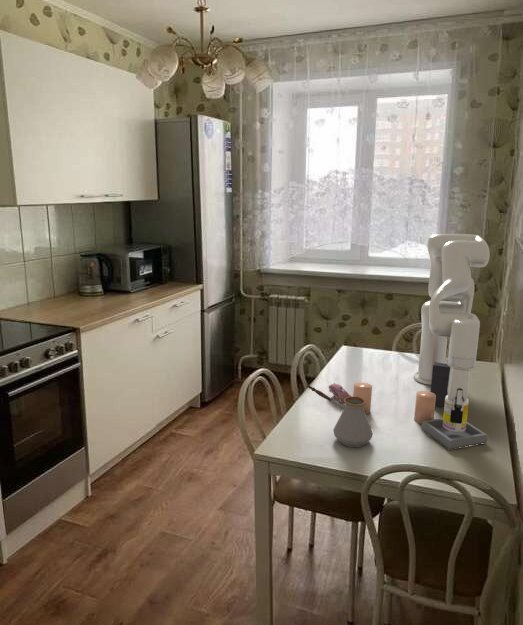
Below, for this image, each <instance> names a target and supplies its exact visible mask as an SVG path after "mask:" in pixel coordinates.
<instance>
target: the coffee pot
mask: <svg viewBox="0 0 523 625" xmlns="http://www.w3.org/2000/svg"><path fill="white" fill-rule="evenodd" d="M307 389H309V390H311V391H312V392H315V393H316V394H317V395H318V396H319V397H321V398H323V399H325V400H326V401H329V402H331V403H333V404H334V405H336V407H338V408H340V409H341V410H342V412H341V414H340V416H339V418H338V420H337V422H336V423H335V425H334V427H333V429H332V430H333V434H334V437H335V438H336V440H337V441H338V442H340V443H341V444H342V445H344V446H347V447H348V448H349V447H350V448H359V447H363V446H365V445H366V444H367V443H369V442H370V441H371V440H372V438H373V434H374V433H373V429H372V427H371V424H370V422H369V419H368V417H367V414H365V411H364V409H363V407H364V405H365V404H366V401H365V400H364V399H363V398H361V397H358V396H353V395H350V397H346V398H344V401H343V402H344V404H345V406H344V405H342V404H341V403H340V402H337V401H335V400H334V399H332V398H331V397H329V396H328V395H327V394H325V393H324V392H322V391H320V390H318V389H317V388H315V387H314V386H313V387H312V386H311V385H309V384H306V386H305V388H304V391H306V390H307Z"/></svg>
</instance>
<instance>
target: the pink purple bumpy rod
mask: <svg viewBox="0 0 523 625" xmlns="http://www.w3.org/2000/svg"><path fill="white" fill-rule="evenodd" d="M327 388H328V392H329V393H332V395H333V396H334V398H336V399H337V400H338V401H340V402H341V403H343V402H344V398H346V397H350V396H351V394H350V393H348V391H347V390H346V389H344V387H343V386H342V385H340V384H337V383H335V382H333V383H330V385H328V387H327Z"/></svg>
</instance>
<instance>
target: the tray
mask: <svg viewBox="0 0 523 625" xmlns="http://www.w3.org/2000/svg"><path fill="white" fill-rule="evenodd" d="M421 430H422V432H424V433H425V432H426V434H427V435H428V436H429V435H430V436H429V437H430V438H432V439H433V438H434V439H433V440H435V441H436V442H437V441H438V442H437V443H439V444H440V443H441V444H442V445H441V444H440V445H441V446H442V447H444V448H445V447H446V448H445V449H446V450H448V451H452V450H451V449H454V450H456V449H455V448H459V447H465V446H469V445H476V444H481V443H486V444H487V440H488V434H487V433H485V432H484V431H482V430H481V429H479V428H477V427H476V426H474V425H473V424H472V423H469V422H468V421H467V425H466V430H465V431H463V432H451V431H448V430H446V429H445V428H444V427H443V417H441V418H434V420H427V421H423V424H421ZM465 448H466V447H465Z"/></svg>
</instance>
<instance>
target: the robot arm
mask: <svg viewBox="0 0 523 625" xmlns="http://www.w3.org/2000/svg"><path fill="white" fill-rule="evenodd" d="M427 251H428V255H429V259H430V270H429V276H428V277H429V279H428V286H427V287H428V291H427V292H428V295H429V297H430V300H427V301H425V302H424V303H423V304H422V306H421V311H420V314H421V315H420V317H421V318H420V319H421V336H420V337H421V338H420V348H419V358H418V370H417V371H416V372H415V373H414V374H413V379H414V380H415V381H416V382H418V383H420V384H424V385H428V386H431V382H432V370H433V365H434V363H435V362H438V363H444V364H448V366H450V374H449V382H448V389H447V392H448V399H449V400H453V407H452V409H451V416H450V422H452V423H459V424H461V423H462V416H463V402H465V401H466V398H468V393H469V392H468V391H469V383H470V377H471V375H470V374H471V371H472V370H474V369H475V368H476V362H477V354H478V343H479V338H480V337H479V336H480V328H481V322H480V319H479V318H478V316H477V315H476V314H475V313H472V307H473V302H474V296H475V282H474V278H472V272H471V270H472V269H471V268H485V267H487V265H488V264H489V261H490V256H491V255H490V253H491V252H490V247H489V244H488V243H487V241H486V240H485V239H484V238H483V237H482V236H481V235H478V234H470V233H469V234H468V233H466V234H464V233H434V234H432V235H430V236H429V237H428V239H427ZM448 338H449V345H448ZM447 346H448V354H447ZM446 355H447V363H446ZM455 398H457V400H455ZM455 402H457V403H456V404H455Z"/></svg>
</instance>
